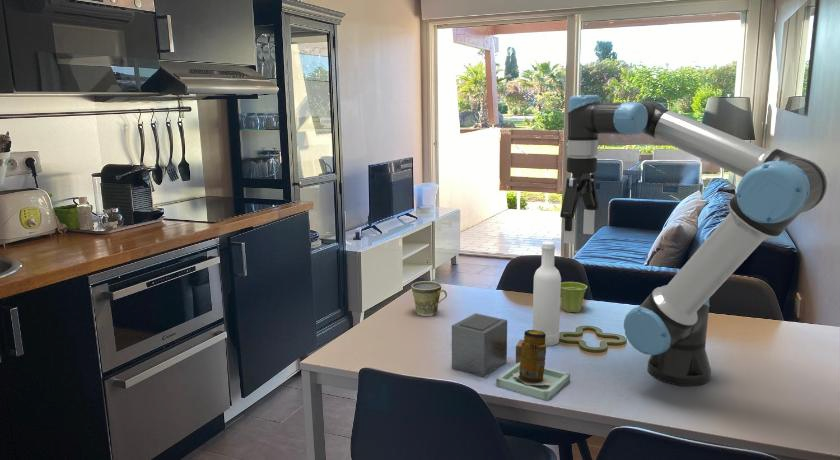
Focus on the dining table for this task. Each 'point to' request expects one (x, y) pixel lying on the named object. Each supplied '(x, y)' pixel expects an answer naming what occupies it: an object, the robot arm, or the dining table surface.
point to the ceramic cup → (427, 297)
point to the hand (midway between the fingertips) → (579, 238)
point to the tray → (538, 391)
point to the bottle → (547, 296)
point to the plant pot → (572, 296)
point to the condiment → (533, 359)
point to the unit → (479, 344)
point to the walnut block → (518, 351)
